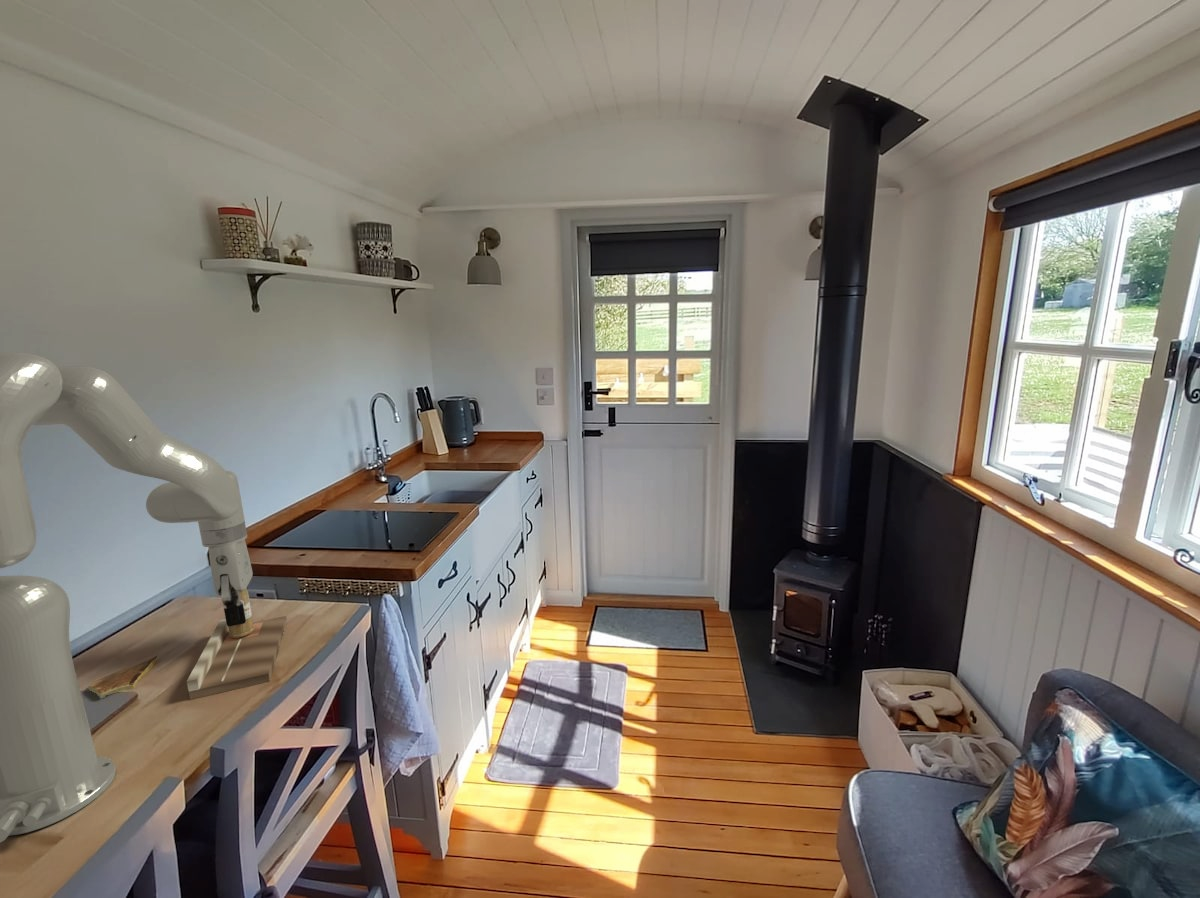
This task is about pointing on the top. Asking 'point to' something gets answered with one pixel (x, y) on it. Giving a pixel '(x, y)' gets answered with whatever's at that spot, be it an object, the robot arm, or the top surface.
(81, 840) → the top surface
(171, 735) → the top surface
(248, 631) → the sprinkles bottle
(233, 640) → the guide board
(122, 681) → the shard
